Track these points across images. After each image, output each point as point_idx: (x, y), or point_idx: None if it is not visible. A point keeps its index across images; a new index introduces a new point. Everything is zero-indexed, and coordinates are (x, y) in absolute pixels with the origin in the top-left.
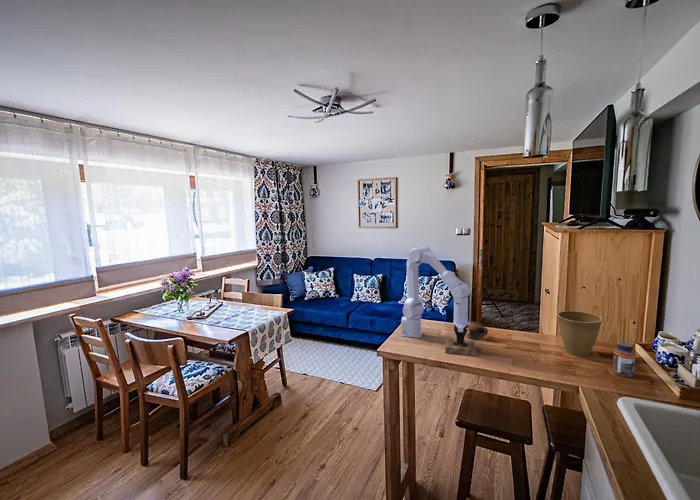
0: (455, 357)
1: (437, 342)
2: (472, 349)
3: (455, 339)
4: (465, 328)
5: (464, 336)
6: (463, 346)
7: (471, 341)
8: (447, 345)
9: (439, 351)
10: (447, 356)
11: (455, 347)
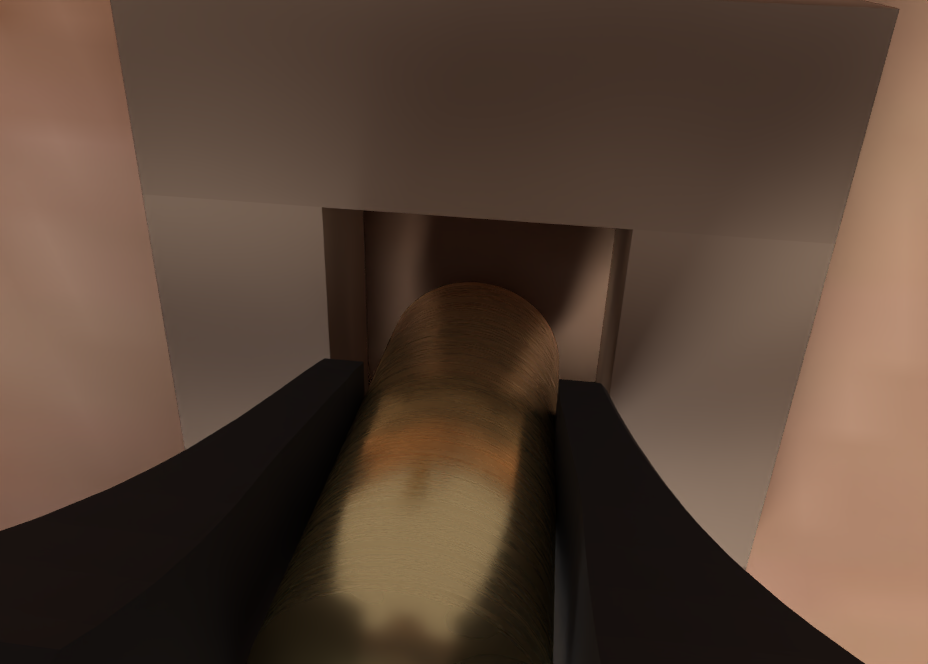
0: (914, 448)
1: None
2: (826, 108)
3: None
4: (151, 614)
5: (714, 544)
6: (619, 338)
7: (182, 83)
8: None
9: None
10: (864, 570)
11: (713, 517)
